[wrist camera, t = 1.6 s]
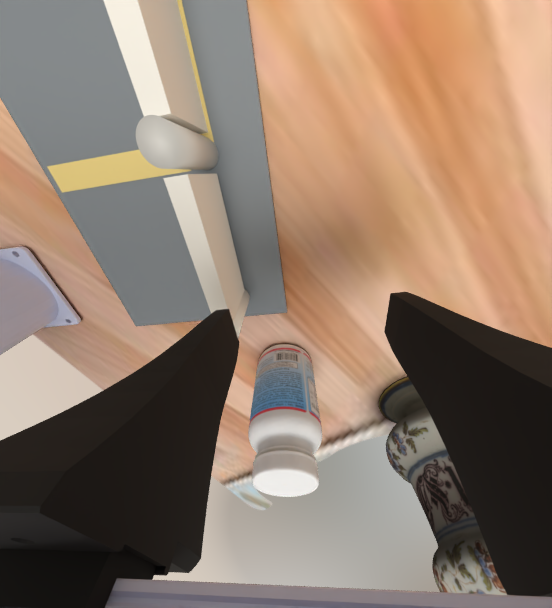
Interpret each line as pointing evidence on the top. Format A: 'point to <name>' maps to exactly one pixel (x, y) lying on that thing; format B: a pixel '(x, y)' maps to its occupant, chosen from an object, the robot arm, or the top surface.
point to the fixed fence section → (163, 84)
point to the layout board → (127, 157)
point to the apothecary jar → (438, 494)
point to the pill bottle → (285, 423)
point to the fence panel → (209, 242)
